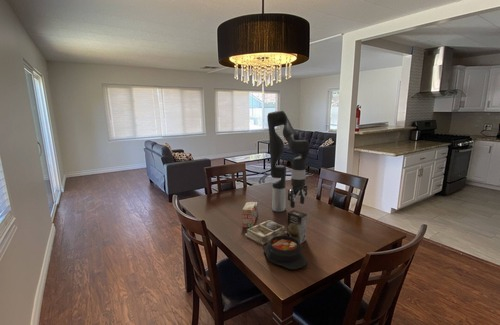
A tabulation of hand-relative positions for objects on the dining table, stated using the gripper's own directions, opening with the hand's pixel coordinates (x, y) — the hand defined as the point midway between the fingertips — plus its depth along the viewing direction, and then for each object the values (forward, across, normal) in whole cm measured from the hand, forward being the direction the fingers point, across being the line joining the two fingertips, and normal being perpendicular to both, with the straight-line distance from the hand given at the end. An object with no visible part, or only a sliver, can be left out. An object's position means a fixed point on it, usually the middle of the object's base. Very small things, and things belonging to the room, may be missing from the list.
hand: (297, 205), depth 140 cm
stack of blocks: (+21, +2, -36) cm, 42 cm away
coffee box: (+21, 0, 0) cm, 21 cm away
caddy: (+20, +8, -16) cm, 27 cm away
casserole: (+21, +19, +7) cm, 29 cm away
